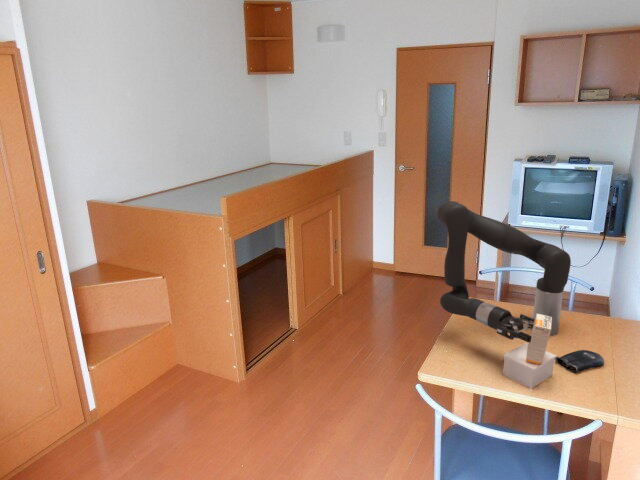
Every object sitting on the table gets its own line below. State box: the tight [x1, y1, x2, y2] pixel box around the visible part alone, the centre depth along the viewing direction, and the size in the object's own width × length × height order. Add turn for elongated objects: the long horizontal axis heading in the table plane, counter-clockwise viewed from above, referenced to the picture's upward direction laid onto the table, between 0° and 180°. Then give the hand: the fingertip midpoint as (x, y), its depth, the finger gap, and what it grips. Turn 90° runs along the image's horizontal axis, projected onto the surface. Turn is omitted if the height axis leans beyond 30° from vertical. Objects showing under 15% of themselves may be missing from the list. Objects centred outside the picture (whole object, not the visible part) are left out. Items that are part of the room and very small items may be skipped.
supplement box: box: [526, 314, 552, 365], centre depth 154 cm, size 8×5×13 cm, turn 155°
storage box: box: [502, 342, 557, 389], centre depth 159 cm, size 13×11×7 cm
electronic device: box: [554, 349, 605, 374], centre depth 165 cm, size 9×6×15 cm
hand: (538, 335), depth 154 cm, fingers closed on supplement box, 7 cm apart
